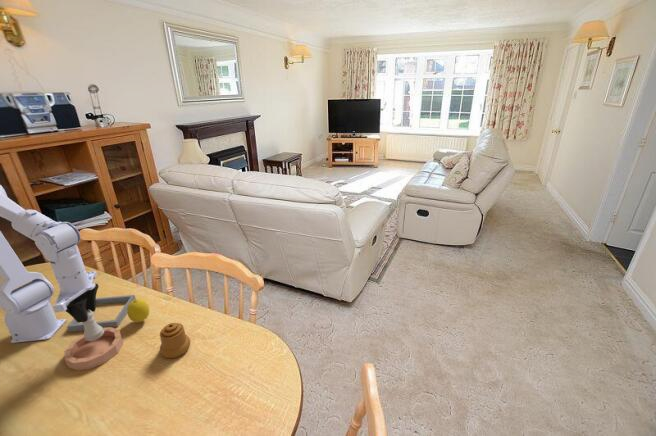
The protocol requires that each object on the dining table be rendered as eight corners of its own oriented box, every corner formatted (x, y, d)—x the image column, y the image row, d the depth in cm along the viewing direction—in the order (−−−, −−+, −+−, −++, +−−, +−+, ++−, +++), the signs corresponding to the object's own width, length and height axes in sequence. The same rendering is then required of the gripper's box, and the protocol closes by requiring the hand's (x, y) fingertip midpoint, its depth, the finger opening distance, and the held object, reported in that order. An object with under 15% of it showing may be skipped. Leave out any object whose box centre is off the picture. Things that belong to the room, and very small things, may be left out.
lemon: (155, 315, 94) (150, 294, 91) (143, 328, 89) (137, 306, 86) (139, 314, 95) (133, 293, 92) (126, 327, 90) (119, 305, 86)
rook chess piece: (108, 332, 83) (99, 309, 79) (91, 344, 79) (80, 320, 76) (98, 328, 84) (88, 305, 81) (81, 339, 80) (70, 315, 77)
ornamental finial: (186, 358, 79) (156, 361, 78) (194, 337, 86) (166, 340, 85) (181, 334, 76) (149, 337, 75) (189, 315, 83) (160, 317, 82)
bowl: (56, 372, 75) (53, 365, 74) (84, 337, 86) (81, 330, 85) (109, 366, 77) (106, 358, 76) (130, 332, 88) (127, 325, 87)
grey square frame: (68, 331, 87) (66, 326, 87) (93, 303, 99) (91, 298, 99) (117, 326, 90) (116, 321, 89) (135, 299, 101) (134, 294, 101)
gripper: (70, 287, 68) (88, 334, 73) (103, 256, 81) (116, 297, 86) (35, 290, 67) (55, 337, 72) (74, 258, 80) (89, 300, 85)
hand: (86, 316), depth 79 cm, fingers closed on rook chess piece, 3 cm apart
